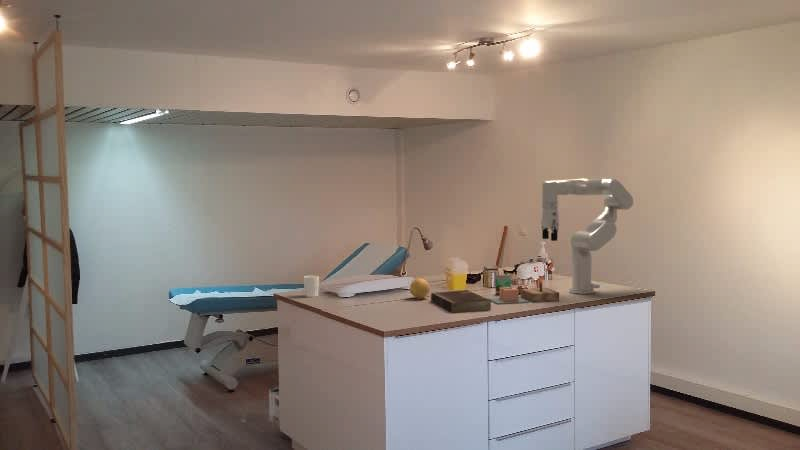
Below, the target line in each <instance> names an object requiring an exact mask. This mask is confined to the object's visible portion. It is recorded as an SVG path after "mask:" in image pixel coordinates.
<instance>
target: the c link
mask: <svg viewBox="0 0 800 450" xmlns="http://www.w3.org/2000/svg"><path fill="white" fill-rule="evenodd" d="M519 295H520V289H519V288H516V287H513V286H511V287H505V288H500V294H499V297H498V298H499V299H501V300H503V301H505V302H506V301H519V297H520V296H519Z"/></svg>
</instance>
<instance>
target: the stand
mask: <svg viewBox="0 0 800 450" xmlns="http://www.w3.org/2000/svg"><path fill="white" fill-rule="evenodd" d="M520 298H522V299H525V300H527V301H529V302H531V303H541V302H542V301H546V302H559V301H560V292H558V291H556V290H555V289H554V290H553V289H550V288H548V287H543V282H541V281H539V288H538V287H537V288H521V289H520ZM542 303H543V302H542Z"/></svg>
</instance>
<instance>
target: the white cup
mask: <svg viewBox="0 0 800 450" xmlns="http://www.w3.org/2000/svg"><path fill="white" fill-rule="evenodd" d="M319 289H320V276H319V275H313V274H311V275H304V276H303V291H304V297H306V298H317V297H319ZM316 296H317V297H316Z"/></svg>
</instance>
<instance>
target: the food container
mask: <svg viewBox="0 0 800 450" xmlns="http://www.w3.org/2000/svg"><path fill="white" fill-rule="evenodd" d="M512 279H513V275H512V273H510V272H505V274H500V275H498V274H495V275H494V283H495V295H499V294H500V288H505V287H512V286H511V285H512Z"/></svg>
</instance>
